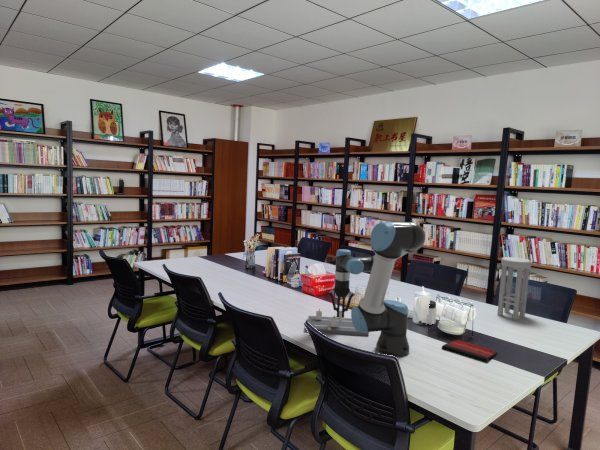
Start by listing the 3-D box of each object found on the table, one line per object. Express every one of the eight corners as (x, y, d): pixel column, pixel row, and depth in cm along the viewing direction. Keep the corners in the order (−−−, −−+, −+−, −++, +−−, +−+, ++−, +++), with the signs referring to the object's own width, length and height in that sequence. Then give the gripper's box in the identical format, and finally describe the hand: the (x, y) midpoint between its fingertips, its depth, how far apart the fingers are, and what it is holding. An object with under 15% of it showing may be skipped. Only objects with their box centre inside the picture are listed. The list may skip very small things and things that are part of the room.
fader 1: (321, 319, 227) (321, 311, 227) (316, 319, 228) (316, 310, 227) (321, 317, 231) (322, 308, 231) (316, 317, 232) (316, 308, 231)
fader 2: (336, 327, 217) (337, 318, 216) (330, 326, 217) (331, 317, 217) (336, 324, 221) (337, 315, 220) (330, 324, 221) (331, 315, 220)
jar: (416, 320, 240) (417, 299, 239) (428, 319, 243) (430, 299, 242) (425, 325, 232) (426, 304, 231) (437, 324, 234) (439, 303, 233)
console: (368, 336, 212) (368, 332, 212) (305, 332, 215) (305, 328, 215) (365, 322, 233) (366, 319, 233) (308, 318, 236) (308, 315, 236)
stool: (518, 321, 245) (524, 262, 241) (492, 314, 257) (497, 258, 253) (529, 316, 255) (535, 260, 251) (504, 310, 266) (509, 256, 263)
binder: (487, 358, 186) (441, 345, 200) (486, 364, 186) (441, 350, 200) (498, 350, 198) (455, 338, 212) (498, 355, 198) (454, 342, 212)
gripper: (354, 278, 219) (352, 321, 222) (329, 276, 220) (327, 320, 223) (355, 281, 212) (352, 326, 215) (329, 280, 213) (327, 324, 216)
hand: (340, 323), depth 219 cm, fingers closed
